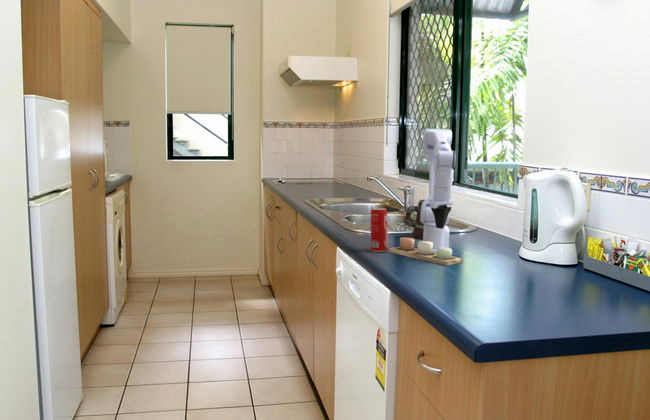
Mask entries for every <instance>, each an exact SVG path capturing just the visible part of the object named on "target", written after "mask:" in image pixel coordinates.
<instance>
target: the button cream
mask: <svg viewBox="0 0 650 420" xmlns="http://www.w3.org/2000/svg"><path fill="white" fill-rule="evenodd" d="M417 247H418V248H417V249H418V250H417V252H418V253H421V254H432V252H433V242H429V241H423V240H419V241H418V242H417Z"/></svg>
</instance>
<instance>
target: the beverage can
mask: <svg viewBox="0 0 650 420" xmlns="http://www.w3.org/2000/svg"><path fill="white" fill-rule="evenodd" d="M370 250H371V251H372V252H373V253H375V252H376V253H382V252H383V253H384V252H388V211H387V208H385V207H375V208H373V207H372V208H371V211H370Z"/></svg>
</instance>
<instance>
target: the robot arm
mask: <svg viewBox="0 0 650 420" xmlns="http://www.w3.org/2000/svg"><path fill="white" fill-rule="evenodd" d="M422 140H423V141H422V142H423V153H424V154H425V155H427V156H428V161H429V162H428V163H429V165H428V166H429V170H428V172H429V175H428V177H429V179H428V180H429V182H428V197H427V198H425V199H423V200H424V201H423V202H422V205H421V214H420V220H421V222H422V223H423V224H424V232H423V239H422V241H429V242H433V251H432V252H435V253H436V250H437V248H449V249H451V247H449V244H450V229H449V227H448V226H447V225H448V224H449V223H450V212H451V211H452V206H453V204H454V199H453V198H452V187H453V173H454V172H453V171H454V168H455V166H456V165H455V164H456V150H452V148H451V145H452V140H453V132H452V130H451V129H450V128H449V129H440V128H439V129H437V128H436V129H435V128H425V129H424V130H423V139H422ZM417 249H418V246H417Z"/></svg>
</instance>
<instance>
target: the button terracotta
mask: <svg viewBox="0 0 650 420" xmlns="http://www.w3.org/2000/svg"><path fill="white" fill-rule="evenodd" d="M415 241H416V238H415V237H405V236H404V237H403V236H402V237H399V247H400V249H403V250H414V248H415Z"/></svg>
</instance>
